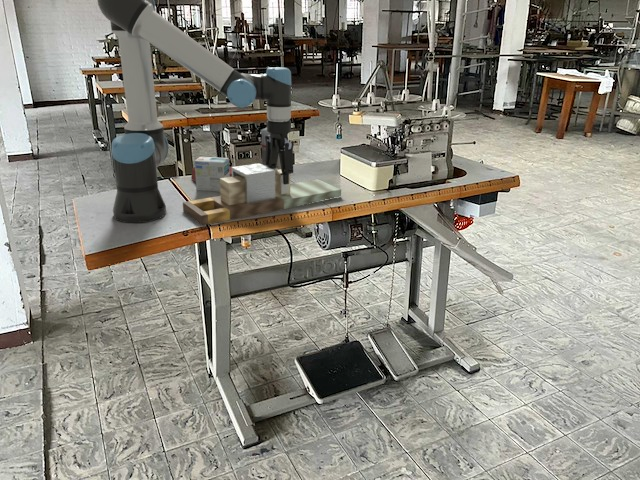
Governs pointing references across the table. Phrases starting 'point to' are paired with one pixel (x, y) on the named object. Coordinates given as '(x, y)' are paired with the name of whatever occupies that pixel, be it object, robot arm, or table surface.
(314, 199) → the deck
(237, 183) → the maple beam
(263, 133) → the spray can
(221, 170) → the light bulb box
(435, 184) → the table surface
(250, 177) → the matte grey cube
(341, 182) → the table surface
